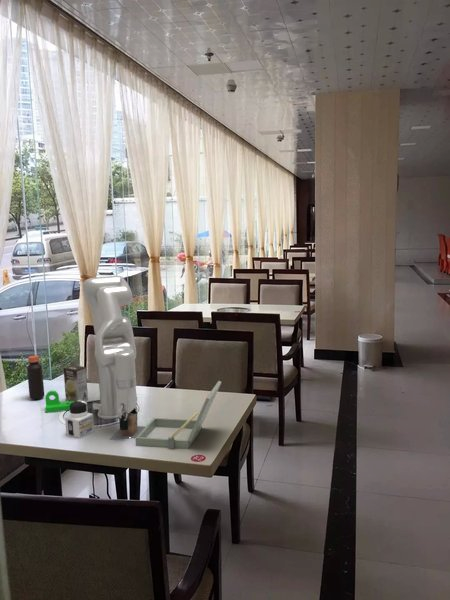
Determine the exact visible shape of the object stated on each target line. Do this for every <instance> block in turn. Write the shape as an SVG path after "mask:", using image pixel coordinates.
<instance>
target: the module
mask: <svg viewBox="0 0 450 600" xmlns="http://www.w3.org/2000/svg"><path fill="white" fill-rule="evenodd" d="M123 416H124V417H125V414H123ZM127 420H128V430H121V435H127V436H133V435H134V434H135V433H136V432H137V431H138V428H137V426H138V413H137V414H133V413H129V414H128V415H127Z"/></svg>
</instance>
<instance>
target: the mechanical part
mask: <svg viewBox="0 0 450 600" xmlns="http://www.w3.org/2000/svg"><path fill="white" fill-rule="evenodd" d="M50 396H53V397H54V399H51V397H50ZM59 397H60V396H59V393H58V392H57V391H56V390H49V391H48V392H47V393H46V394H45V408H44V409H45V413H46V412H47V413H55V412H65V410H66V411H70V404H71V403H72V402H74V401H60V398H59Z"/></svg>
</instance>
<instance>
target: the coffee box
mask: <svg viewBox="0 0 450 600" xmlns="http://www.w3.org/2000/svg"><path fill="white" fill-rule="evenodd" d="M87 378H88V377H87V367H85V366H81V365H77V364H71V365H68V366H66V367H63V380H64V381H63V382H64V392H65V395H64V396H65V402H69V401H85V402H86V401H89V394H88V393H89V392H88V391H89V389H88V379H87Z"/></svg>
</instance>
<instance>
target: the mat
mask: <svg viewBox="0 0 450 600" xmlns="http://www.w3.org/2000/svg"><path fill="white" fill-rule="evenodd" d="M145 427H146V426H144V425H143V426H142V425H141V426H140V425H139V426H138V425H137V428H138V431H137V432H136V433H135V434H134V435H133V436H127V435H121V430H120V428H119V429H118V430H117V431H116V432H115V433H114V434H113V435H112V436H111V437H110V438H109V439H108V440H109V441H115V440H116V441H118V440H130V439H129V437H131V439H135V438H136V437H137V436H138V435H139V434H140V432H141V431H142V430H143V429H144V428H145ZM125 438H126V439H125Z"/></svg>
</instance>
